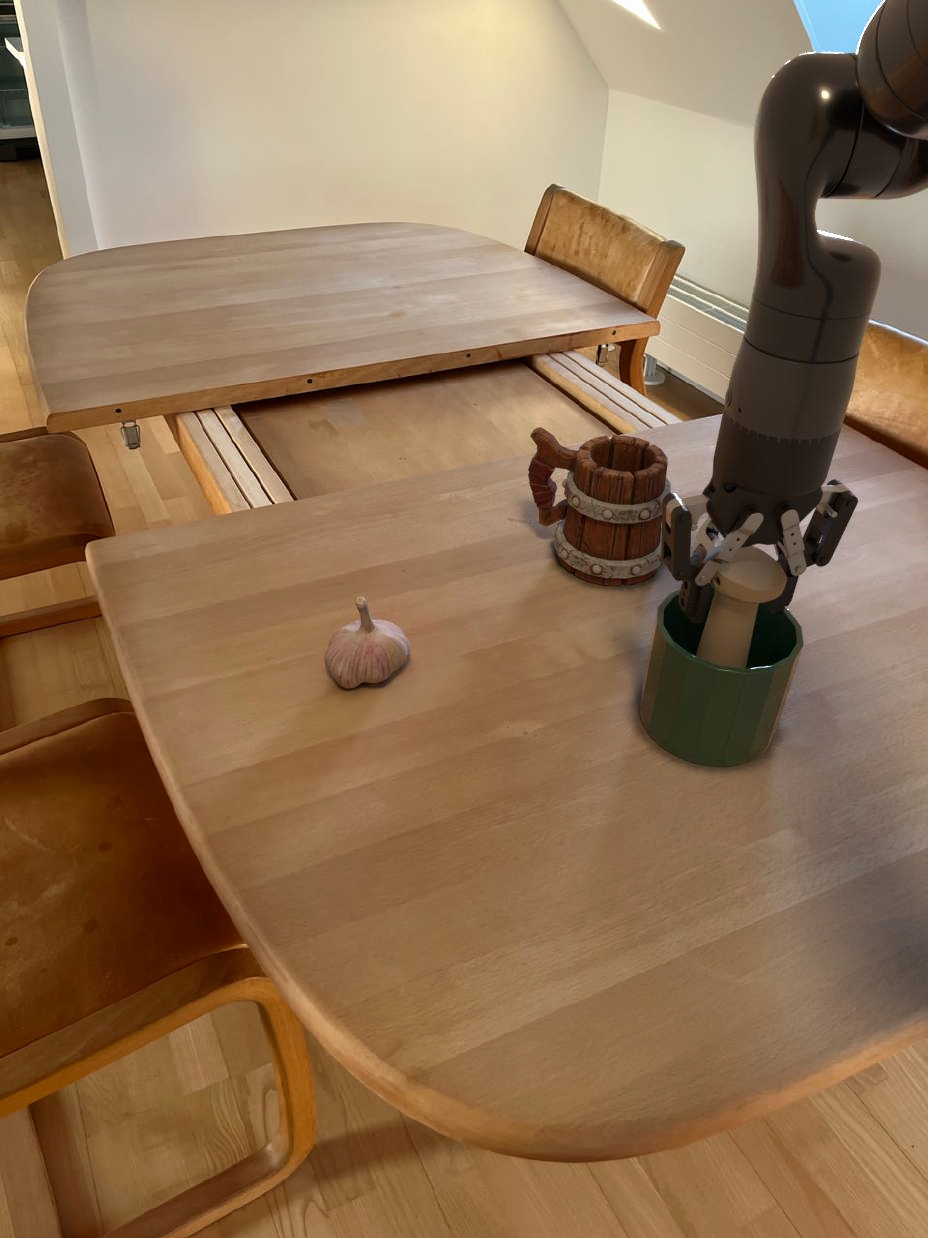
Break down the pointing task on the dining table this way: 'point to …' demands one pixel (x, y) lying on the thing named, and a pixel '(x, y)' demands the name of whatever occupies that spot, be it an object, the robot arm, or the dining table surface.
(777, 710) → the cup
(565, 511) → the mug
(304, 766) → the dining table surface
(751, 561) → the handle
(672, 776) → the dining table surface
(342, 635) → the garlic bulb
